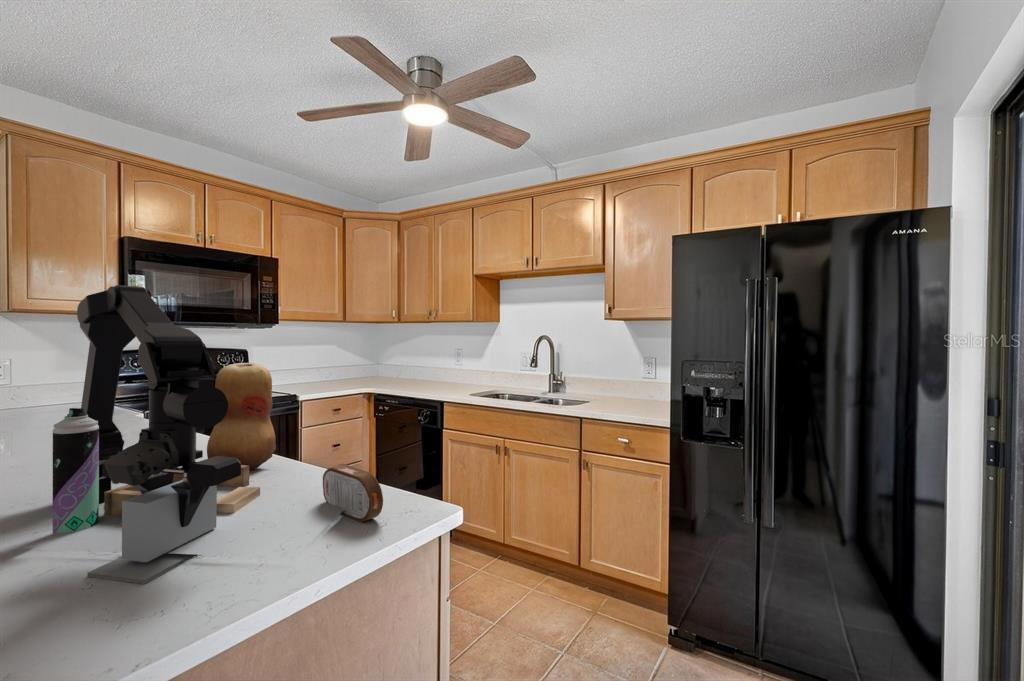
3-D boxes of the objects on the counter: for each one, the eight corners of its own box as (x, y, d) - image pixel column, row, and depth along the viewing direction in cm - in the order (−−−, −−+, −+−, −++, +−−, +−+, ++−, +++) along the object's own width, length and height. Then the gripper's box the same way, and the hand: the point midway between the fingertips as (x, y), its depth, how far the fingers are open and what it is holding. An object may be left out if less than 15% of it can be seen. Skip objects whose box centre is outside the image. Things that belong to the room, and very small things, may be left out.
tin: (384, 522, 84) (384, 474, 83) (369, 528, 81) (369, 478, 81) (334, 503, 93) (334, 459, 92) (319, 507, 90) (319, 462, 90)
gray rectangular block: (121, 559, 66) (122, 501, 66) (194, 524, 78) (195, 475, 78) (146, 562, 65) (146, 503, 65) (216, 527, 77) (216, 477, 77)
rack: (104, 521, 82) (104, 492, 82) (199, 485, 101) (199, 461, 101) (163, 527, 80) (163, 497, 80) (249, 489, 99) (249, 465, 99)
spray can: (46, 542, 74) (46, 411, 73) (59, 529, 78) (60, 406, 78) (92, 535, 76) (93, 409, 76) (102, 523, 81) (103, 404, 81)
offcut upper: (210, 512, 84) (210, 503, 84) (239, 495, 93) (239, 486, 93) (234, 513, 84) (234, 504, 84) (260, 495, 93) (260, 487, 93)
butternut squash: (221, 485, 102) (222, 366, 101) (197, 472, 110) (198, 362, 110) (286, 470, 112) (287, 363, 112) (260, 460, 121) (261, 360, 120)
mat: (87, 576, 64) (87, 572, 64) (194, 525, 81) (194, 522, 81) (144, 584, 62) (144, 580, 62) (241, 530, 79) (241, 527, 79)
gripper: (61, 426, 65) (61, 541, 65) (180, 435, 61) (179, 556, 62) (139, 412, 76) (139, 511, 76) (244, 419, 72) (243, 522, 73)
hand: (172, 524), depth 71 cm, fingers closed on gray rectangular block, 4 cm apart
